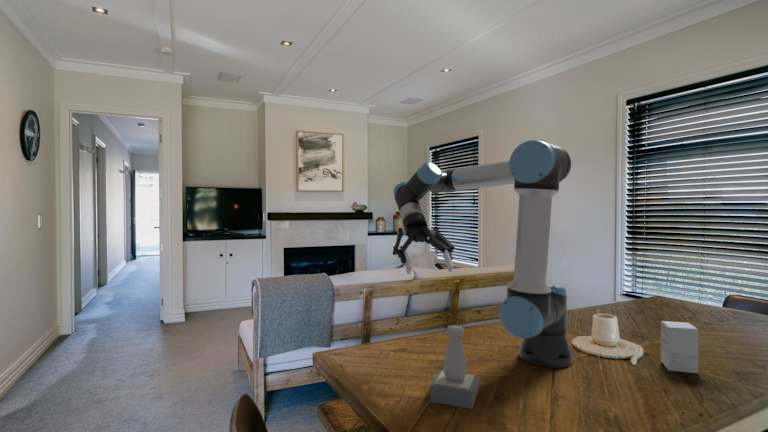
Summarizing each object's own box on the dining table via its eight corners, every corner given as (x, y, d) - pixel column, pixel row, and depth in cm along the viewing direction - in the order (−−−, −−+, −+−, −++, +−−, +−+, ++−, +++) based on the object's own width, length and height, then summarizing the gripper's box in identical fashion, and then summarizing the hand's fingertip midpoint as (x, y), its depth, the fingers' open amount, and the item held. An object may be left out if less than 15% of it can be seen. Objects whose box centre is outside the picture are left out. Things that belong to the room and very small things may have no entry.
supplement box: (689, 364, 122) (689, 322, 122) (698, 374, 115) (699, 329, 115) (660, 361, 125) (660, 320, 125) (667, 371, 118) (668, 326, 118)
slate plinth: (478, 391, 105) (478, 374, 105) (472, 408, 96) (472, 390, 96) (439, 385, 109) (439, 368, 109) (430, 401, 99) (430, 384, 99)
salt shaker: (466, 384, 99) (466, 330, 98) (442, 382, 100) (442, 329, 100) (466, 375, 104) (467, 323, 104) (443, 373, 106) (444, 322, 105)
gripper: (444, 226, 146) (464, 275, 131) (375, 227, 138) (388, 279, 124) (450, 211, 140) (472, 260, 126) (379, 211, 133) (394, 264, 119)
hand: (430, 270), depth 125 cm, fingers open, 13 cm apart
